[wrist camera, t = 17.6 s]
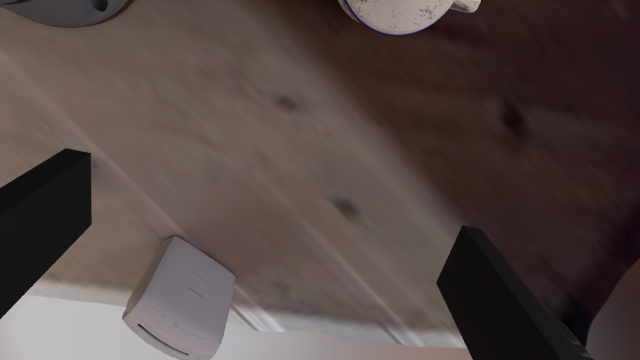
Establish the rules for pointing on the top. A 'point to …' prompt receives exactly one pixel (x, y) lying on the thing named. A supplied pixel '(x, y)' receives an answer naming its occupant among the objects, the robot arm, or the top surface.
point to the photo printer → (181, 302)
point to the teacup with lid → (402, 13)
